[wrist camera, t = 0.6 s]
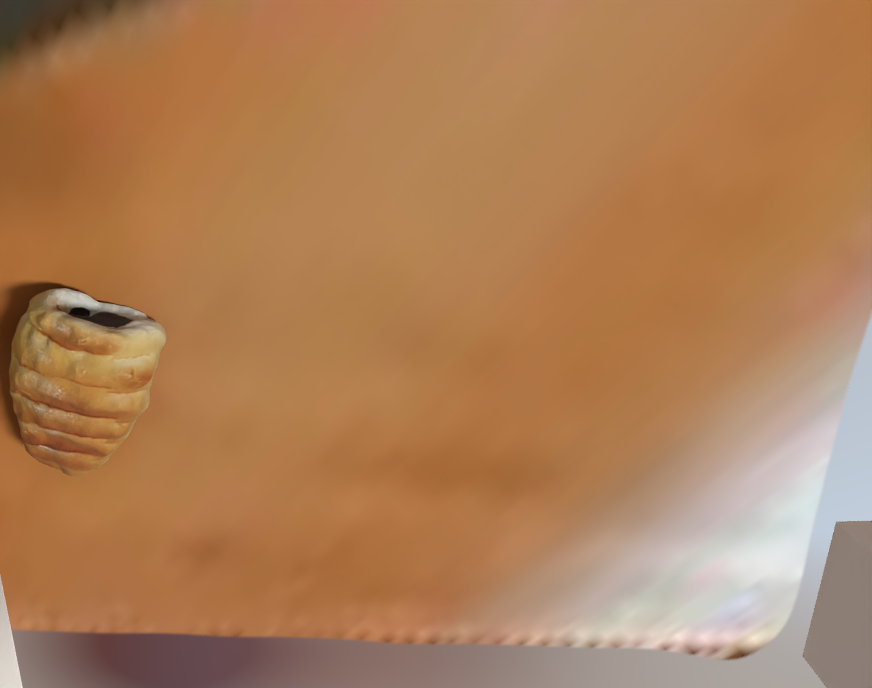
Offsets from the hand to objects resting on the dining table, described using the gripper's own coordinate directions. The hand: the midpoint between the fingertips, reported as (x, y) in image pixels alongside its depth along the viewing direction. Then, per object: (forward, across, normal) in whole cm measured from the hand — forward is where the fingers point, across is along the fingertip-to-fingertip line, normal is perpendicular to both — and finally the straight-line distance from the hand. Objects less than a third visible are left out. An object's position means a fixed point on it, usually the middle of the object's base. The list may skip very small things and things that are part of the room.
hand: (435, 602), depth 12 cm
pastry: (+27, -15, -6) cm, 31 cm away
